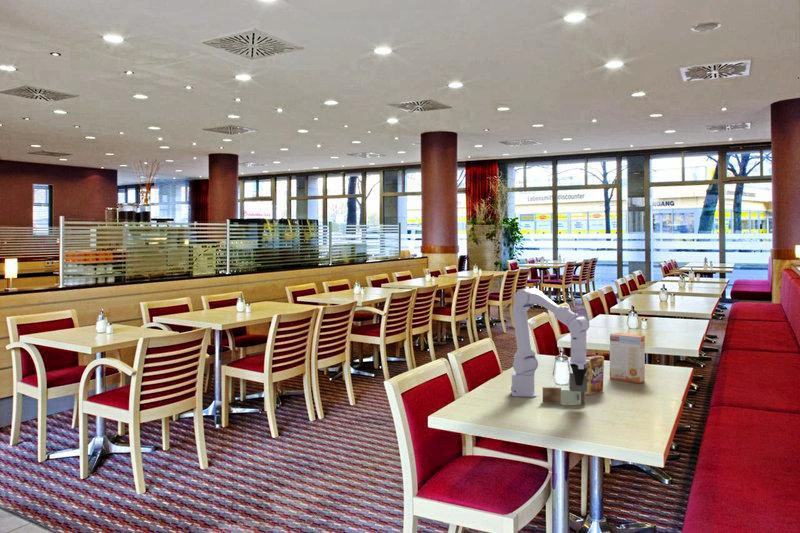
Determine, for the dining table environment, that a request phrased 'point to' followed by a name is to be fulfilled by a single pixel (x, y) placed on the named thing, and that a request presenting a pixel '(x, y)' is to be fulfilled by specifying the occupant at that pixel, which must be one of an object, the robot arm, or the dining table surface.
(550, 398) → the wall
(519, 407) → the dining table surface
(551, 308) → the robot arm
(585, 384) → the block
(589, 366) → the candy box
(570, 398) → the door
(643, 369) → the cracker box
